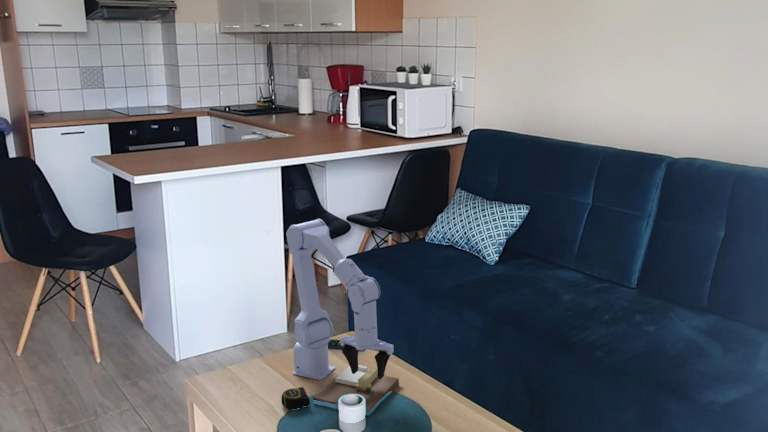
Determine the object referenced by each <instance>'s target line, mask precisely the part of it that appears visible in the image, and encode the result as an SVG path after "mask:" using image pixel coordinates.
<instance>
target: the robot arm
mask: <svg viewBox="0 0 768 432" xmlns="http://www.w3.org/2000/svg"><path fill="white" fill-rule="evenodd" d="M288 227H289V228H288V229H287V231H286V233H285V234H286V241H287V246H288V252H289V254H291V258H292V265H293V271H294V276H295V281H296V287H297V292H298V298H299V299H298V300H299V305H300V310H301V311H300V312H299V314H298V315H297V317H295V319H294V320H293V321H294V338H295V341H296V343H295V344H294V345H293V352H292V353H293V367H294V368H293V371H292V374H293V375H296V376H301V377H306V378H310V379H316V380H323V379H325V377H327V376H328V375H329V374H330V373H331V372H333V371H334V370H335V369H336V367H335V366H332V365H330V363H329V361H330V360H329V345H328V343H329V342H330V338H331V337H332V336H333V333H334V325H333V323H332V321H331V318H330V315H329V312H328V311H326V310H324V309H322V308H321V305H320V298H319V294H318V293H319V292H318V288H317V287H318V286H317V281H316V276H315V275H316V274H315V271H314V264H313V260H312V253H313V251H314V250H317V251H319V252H320V253H321V255H322V256H323V257H324V258H325V259H326V260H327V261H328V262H329V263H330V264H331V265H332V266H333V267H334V269H333V270H334V271H333V274H334V275H335V276H336V277H337V278H338V280H339V281H340V282H341V284H342V286H344V287H345V289H346V290H347V297H348V299H349V302H350V304H351V305H350V306H351V309H352V311H353V319H354V320H353V321H354V322H353V323H354V336H345V335H343V336H342V337H340V339H339V340H340V341H339V343H340V344H339V345H340V347H343V348H342V350H341V353H342V354H343V355H344V357H345V359H346V360H347V362H348V364H349V366H350V368H351V371H352V374H355V373H356V372H357V371H358V365H359V351H361V352H363V351H365V350H367V351H375V352H377V353H376V354H375V355H374V359H375V362H376V363H375V364H376V367H377V368H376V369H377V372H378V379H381V378H382V377H384V376H385V371H386V367H387V364H388V361H389V359H390V356H391V355H392V354H394V352H395V350H394V347H395V346H394V344H391V343H387V342H386V341H382V340H380V339H378V322H377V321H378V320H377V319H378V317H377V315H378V314H377V300H378V299H379V298H380V296H381V287H380V285H379V283H378V281H377V279H375V278H374V277H372V276H371V277H370V276H369V275H365V274H364V272H363V271H362V270H361V269H360V268H359V267H358V265H357V264H356V263H355V262H354V260H352V259H351V258H345V256H344V255H343V253H342V252H341V251H340V249H339V247H338V246H337V245H336V243H335V242H334V240H333V239H332V238H331V237H330V228H329V226H328V225H327V224H326V222H325V221H324V220H323V219H321V218H316V219H313V220H310V221H305V222H302V223H297V224H291V225H290V226H288Z"/></svg>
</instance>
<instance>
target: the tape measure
mask: <svg viewBox="0 0 768 432" xmlns="http://www.w3.org/2000/svg"><path fill="white" fill-rule="evenodd" d="M281 404H282V406H283V408H285V409H286V410H290V411H293V410H292V409H297V408H301V407H303V406H307V407H309V406H310V405H311V400H310V397H309V395H307V392H306V389H305V388H304V387H303V386H300V387H297V388H296V387H294V388H293V387H292V388H289V389H286V390H284V391H283V392H282V394H281ZM308 405H309V406H308ZM301 409H302V408H301Z"/></svg>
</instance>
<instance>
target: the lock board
mask: <svg viewBox="0 0 768 432" xmlns="http://www.w3.org/2000/svg"><path fill="white" fill-rule="evenodd" d="M399 386H400V379H399V378H398V377H395V376H394V377H393V376H387V375H384V377H382V378H381V379H378V377H377V378H376V379H375V380H373V381H372V382H371V392H366V391H362V390H358V389H355V386H352V385H347V384H342V383H337V382H336V380H335V378H333V380H331V382H329V383H328V384H327V385H325V386H324V387H323V388H321V390H320V391H318V393H316V394H315V395H314V396H312V398H313V399H312V401H313V400H317V401H321V402H328V403H331V404H337V402H338V398H339V397H340V396H341V395H344V394H348V393H356V394H360V395H363V396H364V397H365V399H366V405H367V412H368V411H369V410H370V409H371V408H372V407H374V406H375V404H376V403H377V402H378V401H379V400H380V399H382V397H384V396H385V394H387V393H388V392H390V391H392V393H393V392H394V390H396V389H397V388H398V387H399Z"/></svg>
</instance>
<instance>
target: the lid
mask: <svg viewBox="0 0 768 432" xmlns="http://www.w3.org/2000/svg"><path fill="white" fill-rule="evenodd" d="M369 369H370V368H369V366H366V365H361V364H358V371H357V372H356V373H355V374H352V371H351V368H350V365H349V366H348V367H346V368H345V369H344V370H343V371H342V372H341V373H339V374H338V375H337V376H336V377H335V378H334V379H335V380H336V382H337V383H342V384H347V385H352V386H355V385H356V384H358V379H359V378H360V377H362V376H363V375H364V374H365V373H366V372H367V371H368V370H369ZM377 374H378V372H377Z"/></svg>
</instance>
